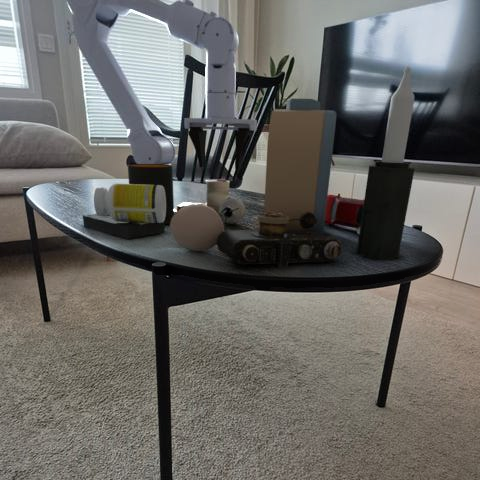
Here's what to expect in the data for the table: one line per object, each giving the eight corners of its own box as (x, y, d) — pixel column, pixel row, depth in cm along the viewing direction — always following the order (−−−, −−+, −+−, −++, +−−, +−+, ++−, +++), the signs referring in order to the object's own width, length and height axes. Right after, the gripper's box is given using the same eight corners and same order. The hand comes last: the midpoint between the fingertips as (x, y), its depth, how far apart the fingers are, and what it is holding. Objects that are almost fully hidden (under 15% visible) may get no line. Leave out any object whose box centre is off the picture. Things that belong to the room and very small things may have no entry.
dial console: (175, 219, 86) (174, 206, 85) (185, 212, 94) (185, 200, 93) (235, 222, 85) (235, 209, 84) (240, 215, 93) (241, 203, 92)
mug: (185, 215, 90) (183, 163, 85) (165, 226, 79) (163, 167, 75) (148, 213, 91) (145, 162, 87) (124, 223, 80) (119, 165, 76)
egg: (199, 256, 58) (159, 248, 65) (234, 252, 63) (193, 245, 70) (199, 205, 56) (157, 202, 63) (235, 205, 61) (193, 202, 68)
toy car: (328, 192, 87) (312, 189, 84) (390, 200, 77) (375, 197, 74) (322, 223, 89) (306, 222, 86) (381, 235, 79) (366, 234, 76)
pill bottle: (165, 180, 72) (100, 177, 71) (160, 191, 66) (89, 188, 66) (167, 216, 75) (105, 213, 75) (162, 228, 70) (95, 226, 70)
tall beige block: (321, 250, 66) (338, 95, 58) (262, 245, 68) (270, 94, 59) (324, 225, 85) (337, 106, 76) (277, 222, 87) (285, 105, 78)
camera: (321, 210, 64) (351, 218, 57) (316, 253, 66) (344, 266, 59) (217, 209, 58) (236, 218, 51) (216, 256, 61) (233, 271, 54)
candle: (353, 251, 66) (379, 68, 56) (381, 250, 68) (411, 71, 58) (372, 260, 62) (404, 62, 52) (401, 258, 63) (437, 66, 53)
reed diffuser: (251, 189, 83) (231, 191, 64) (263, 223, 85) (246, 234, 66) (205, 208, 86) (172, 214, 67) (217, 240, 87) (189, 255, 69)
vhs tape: (166, 232, 74) (165, 220, 73) (127, 239, 69) (126, 226, 68) (121, 220, 83) (120, 210, 82) (84, 226, 78) (82, 215, 77)
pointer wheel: (201, 205, 88) (201, 178, 86) (218, 203, 91) (218, 177, 89) (216, 208, 85) (216, 180, 83) (233, 206, 88) (234, 179, 86)
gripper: (178, 91, 80) (180, 167, 85) (252, 92, 77) (250, 170, 82) (190, 95, 86) (191, 165, 91) (260, 95, 83) (257, 168, 88)
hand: (219, 168), depth 87 cm, fingers open, 7 cm apart
